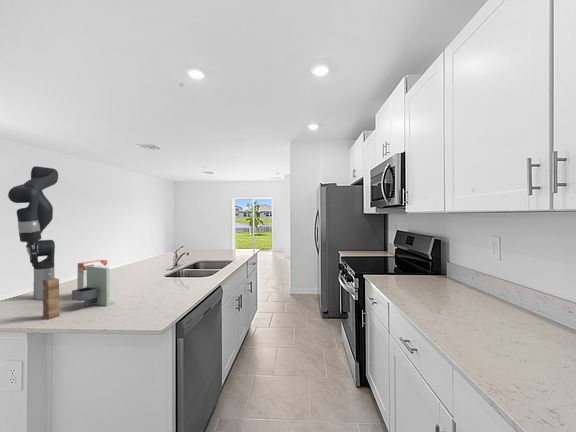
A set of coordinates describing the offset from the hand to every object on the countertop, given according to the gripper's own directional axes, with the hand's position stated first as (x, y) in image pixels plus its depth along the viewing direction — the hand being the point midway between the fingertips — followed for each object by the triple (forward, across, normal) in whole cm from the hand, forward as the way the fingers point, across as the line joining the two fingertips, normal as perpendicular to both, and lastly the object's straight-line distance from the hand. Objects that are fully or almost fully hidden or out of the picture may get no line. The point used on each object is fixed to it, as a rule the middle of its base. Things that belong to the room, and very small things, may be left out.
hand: (34, 264), depth 138 cm
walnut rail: (+25, +6, +3) cm, 26 cm away
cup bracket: (+27, 0, +20) cm, 34 cm away
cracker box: (+29, -17, +24) cm, 42 cm away
